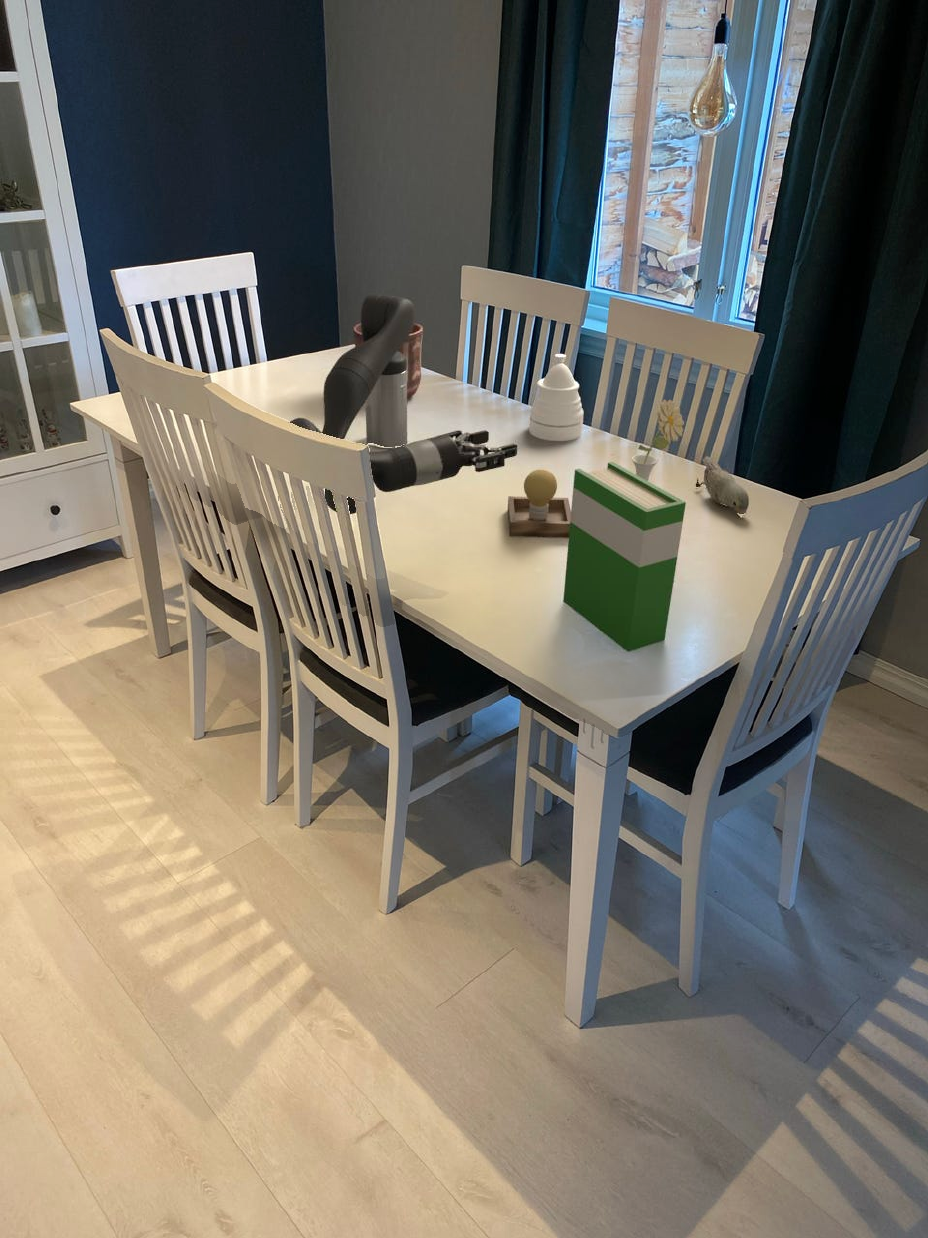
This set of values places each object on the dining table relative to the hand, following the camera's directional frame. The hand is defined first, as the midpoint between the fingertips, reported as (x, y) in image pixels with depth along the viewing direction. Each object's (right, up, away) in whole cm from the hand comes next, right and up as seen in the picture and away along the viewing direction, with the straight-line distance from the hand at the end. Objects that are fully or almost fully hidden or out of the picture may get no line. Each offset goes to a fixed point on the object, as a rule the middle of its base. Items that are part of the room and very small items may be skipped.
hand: (501, 442), depth 177 cm
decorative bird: (+46, -9, +24) cm, 53 cm away
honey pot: (+15, +13, +58) cm, 61 cm away
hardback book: (+18, -33, -18) cm, 41 cm away
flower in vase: (+28, -14, +14) cm, 34 cm away
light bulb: (+8, -13, +13) cm, 20 cm away
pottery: (-27, +26, +77) cm, 85 cm away
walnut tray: (+8, -14, +13) cm, 20 cm away
